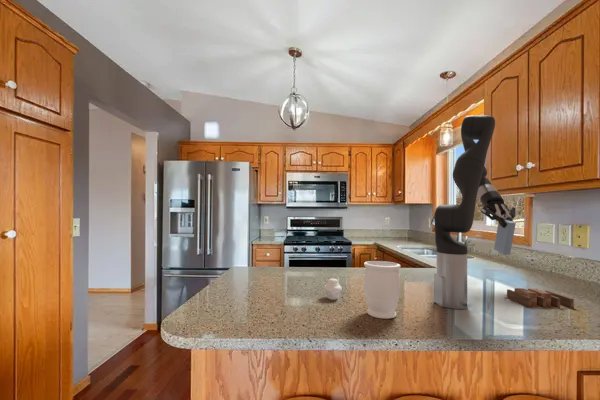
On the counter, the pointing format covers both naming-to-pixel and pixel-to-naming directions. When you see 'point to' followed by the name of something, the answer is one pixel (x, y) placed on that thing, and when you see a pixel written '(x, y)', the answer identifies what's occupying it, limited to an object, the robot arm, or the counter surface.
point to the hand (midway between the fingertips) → (509, 226)
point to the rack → (542, 300)
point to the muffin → (332, 289)
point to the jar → (382, 288)
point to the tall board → (505, 237)
